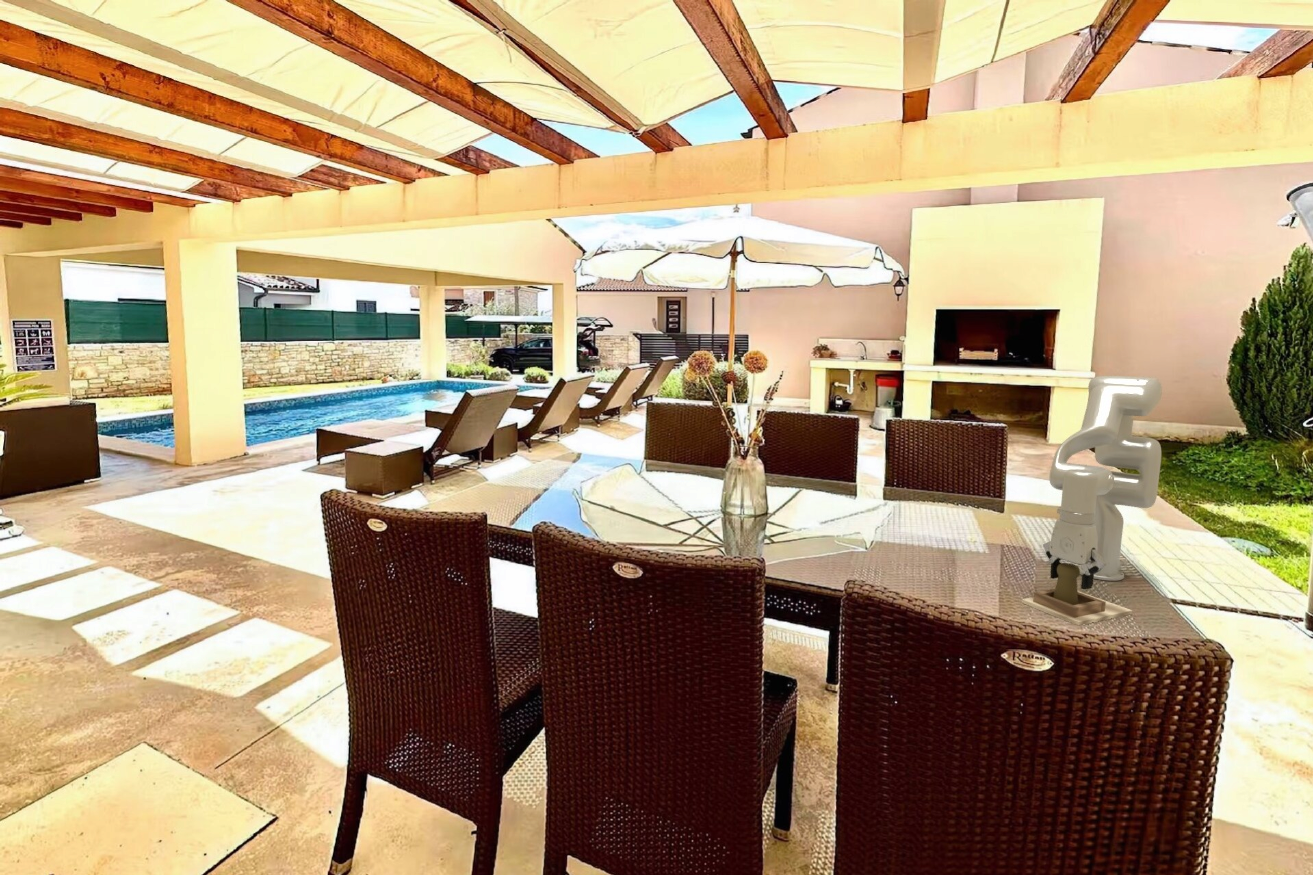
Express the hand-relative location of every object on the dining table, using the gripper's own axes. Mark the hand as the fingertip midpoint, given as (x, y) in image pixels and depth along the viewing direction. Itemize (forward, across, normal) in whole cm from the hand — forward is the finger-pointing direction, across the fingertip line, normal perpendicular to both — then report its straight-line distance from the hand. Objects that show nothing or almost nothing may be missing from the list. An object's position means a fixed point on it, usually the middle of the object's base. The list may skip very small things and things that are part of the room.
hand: (1070, 582), depth 177 cm
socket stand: (+7, 0, +3) cm, 8 cm away
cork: (+7, -1, 0) cm, 7 cm away
